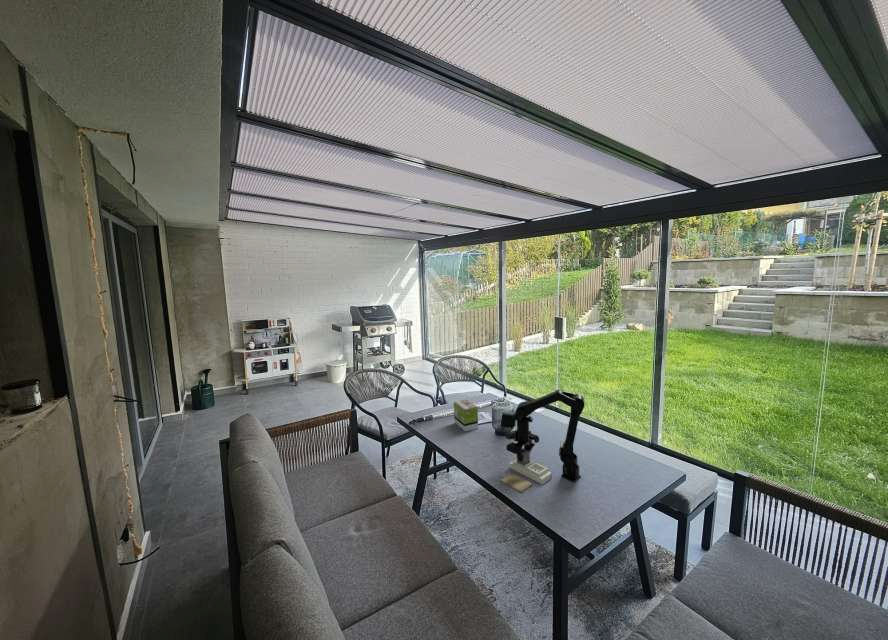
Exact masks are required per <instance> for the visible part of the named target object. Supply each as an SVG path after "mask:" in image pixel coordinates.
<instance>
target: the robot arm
mask: <svg viewBox="0 0 888 640" xmlns="http://www.w3.org/2000/svg"><path fill="white" fill-rule="evenodd" d="M556 402H561V403H562V404H565V405H566V406H568V407H570V416H569V421H568V425H567V428H566V434H565V439H564V442H563V441H560V447H559V448H558V456H559V460H560V461H561V462H562V463H563V464H562V474H561V477H562V478H564V479H566V480H568V481H571V482H574V483H575V482H576V481H577V480H579V479H580V478H582V476H581V474H580V465H579V461H578V460H579V457H578V455H577V454H576V453H575V452H574V442H575V438H576V435H577V434H576V433H577V428H578V424H579V419H580V416H581V415H582V413H583V412H584V408H585V398H584V396H583V395H581V394H579V393H573V392H569V391H563V390H561V389H556V390H555V391H553V392H551V393H548V394H546V395H543V396H541V397H538V398H536V399H534V400H525V401H521V402H519V403H518V405H517V407H516V410H515V411H514V412H513V413H506V412H502V413H501V420H500V427H501V428H507V429H515V427H516V430H511V431H506V432H505V438H506V440H509V441H510V440H513V441H514V442H513V441H512V442H510V443H508V444H506V446H505V447H506V451H508V452H509V453H512V454H514V455H516V458H517V457H518V459H519V461H520V462H521V461H522V458H523V454H524V450H523V449H522V448H524V449H526V450H529V451H530V453H531V452H532V450H533V448H534V447H535V446H536V444H537V443H539V442H540V437H539V436H538V435H537V434H534V433H532V431H531V430H530V423H533V421H534V418H533V417H532V416H531V414H532V413H534V412H535V411H537V410H539V409H541V408H544V407H547V406H549V405H551V404H553V403H556ZM533 442H534V443H533Z"/></svg>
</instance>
